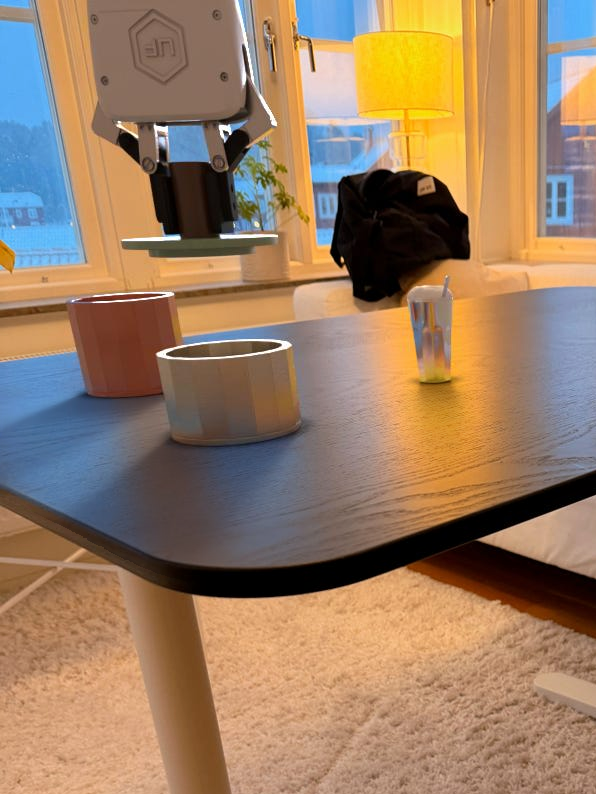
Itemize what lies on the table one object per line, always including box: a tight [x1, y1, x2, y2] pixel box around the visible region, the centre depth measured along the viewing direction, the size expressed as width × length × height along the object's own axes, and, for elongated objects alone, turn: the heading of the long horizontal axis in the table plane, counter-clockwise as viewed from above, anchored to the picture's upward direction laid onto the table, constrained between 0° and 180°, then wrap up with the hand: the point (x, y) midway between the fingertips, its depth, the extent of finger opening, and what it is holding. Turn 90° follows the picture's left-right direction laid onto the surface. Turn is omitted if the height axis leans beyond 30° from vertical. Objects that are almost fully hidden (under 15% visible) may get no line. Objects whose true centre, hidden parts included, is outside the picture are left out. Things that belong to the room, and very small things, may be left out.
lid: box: [120, 160, 279, 259], centre depth 66 cm, size 11×11×6 cm
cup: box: [65, 291, 185, 398], centre depth 92 cm, size 10×10×9 cm
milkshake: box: [406, 275, 454, 384], centre depth 88 cm, size 4×5×10 cm
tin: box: [156, 339, 302, 447], centre depth 72 cm, size 10×10×6 cm
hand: (199, 231), depth 66 cm, fingers closed on lid, 3 cm apart
